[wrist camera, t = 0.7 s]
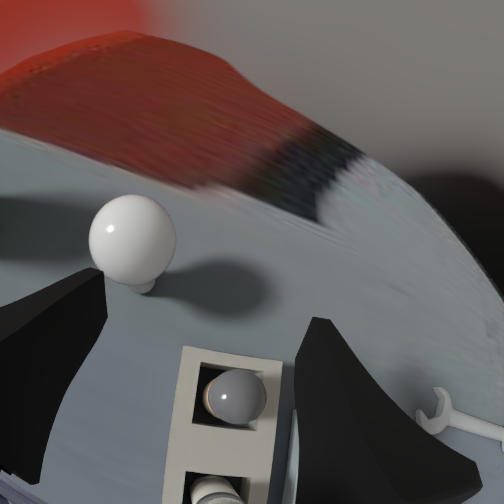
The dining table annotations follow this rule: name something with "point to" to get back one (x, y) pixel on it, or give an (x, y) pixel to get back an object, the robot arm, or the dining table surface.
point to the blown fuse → (235, 396)
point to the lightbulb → (132, 241)
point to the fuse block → (221, 430)
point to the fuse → (213, 490)
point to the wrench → (456, 420)
